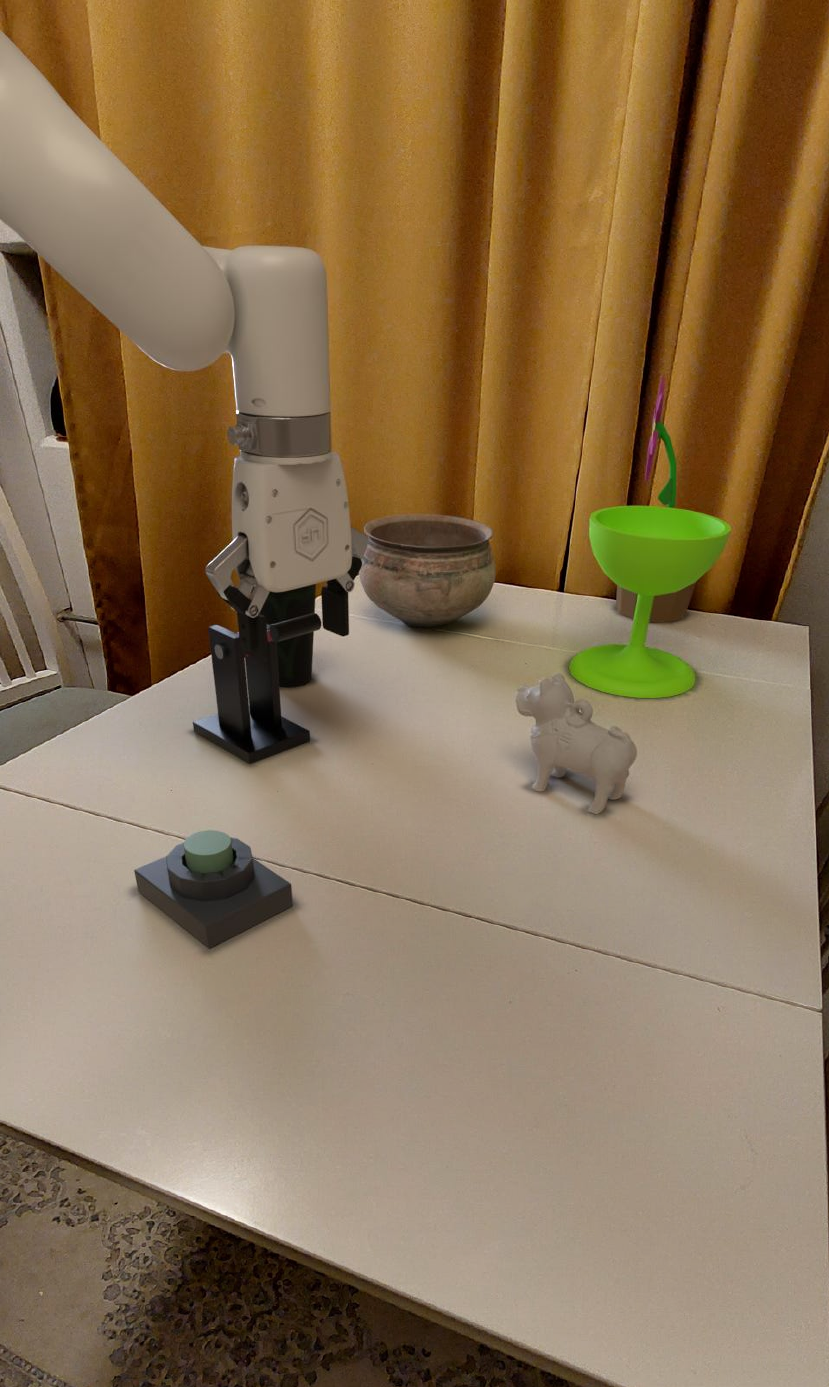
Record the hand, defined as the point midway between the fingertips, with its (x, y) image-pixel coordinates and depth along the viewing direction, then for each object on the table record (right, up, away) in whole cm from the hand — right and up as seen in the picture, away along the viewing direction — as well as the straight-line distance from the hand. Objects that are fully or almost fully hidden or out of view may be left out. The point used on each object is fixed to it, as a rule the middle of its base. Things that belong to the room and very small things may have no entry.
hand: (297, 644), depth 82 cm
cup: (-4, +4, +25) cm, 26 cm away
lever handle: (-3, 0, +3) cm, 4 cm away
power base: (-5, -24, -11) cm, 27 cm away
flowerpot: (+46, +20, +50) cm, 71 cm away
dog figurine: (+26, -13, +5) cm, 29 cm away
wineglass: (+39, +6, +30) cm, 49 cm away
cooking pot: (+13, +17, +44) cm, 48 cm away
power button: (-5, -21, -13) cm, 26 cm away
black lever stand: (-7, -6, +12) cm, 15 cm away
